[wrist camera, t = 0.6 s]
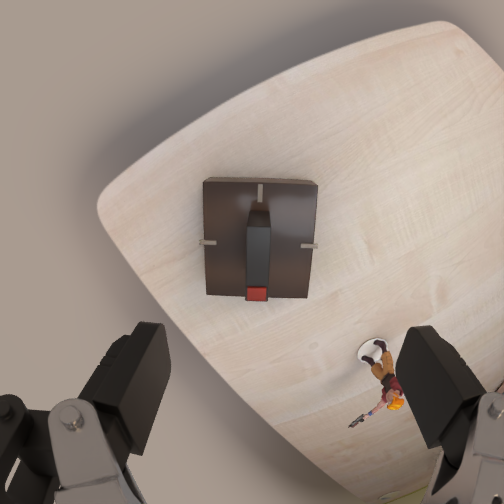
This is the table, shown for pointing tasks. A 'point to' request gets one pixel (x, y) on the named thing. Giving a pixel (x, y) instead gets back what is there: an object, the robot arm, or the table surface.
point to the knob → (257, 255)
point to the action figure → (381, 375)
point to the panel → (282, 233)
